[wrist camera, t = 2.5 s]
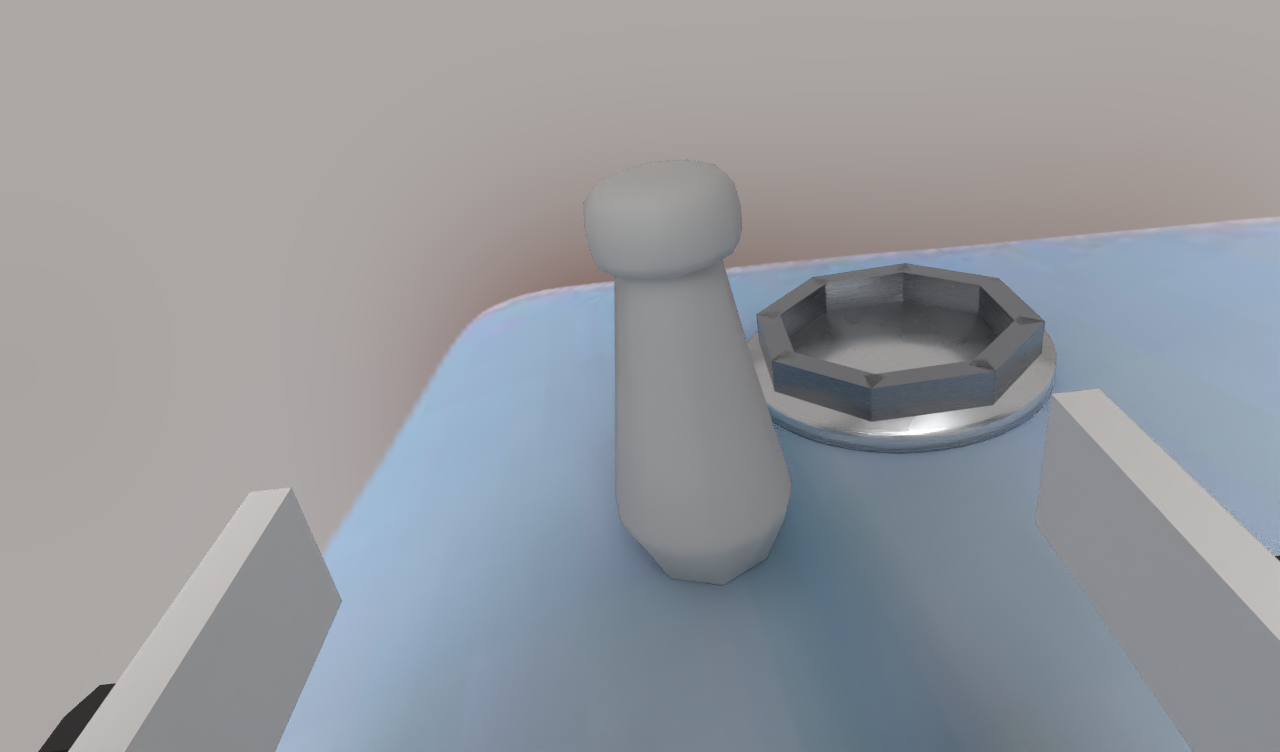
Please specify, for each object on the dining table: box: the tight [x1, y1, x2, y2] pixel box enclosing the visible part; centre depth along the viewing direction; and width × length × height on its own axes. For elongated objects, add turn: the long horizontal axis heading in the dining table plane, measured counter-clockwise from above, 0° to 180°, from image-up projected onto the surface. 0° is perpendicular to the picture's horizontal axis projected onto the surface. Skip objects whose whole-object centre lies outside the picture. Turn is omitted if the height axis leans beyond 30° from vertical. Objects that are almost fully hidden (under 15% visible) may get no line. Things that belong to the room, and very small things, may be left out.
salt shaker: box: [583, 160, 792, 585], centre depth 24 cm, size 6×6×13 cm
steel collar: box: [747, 263, 1056, 453], centre depth 35 cm, size 13×13×2 cm
